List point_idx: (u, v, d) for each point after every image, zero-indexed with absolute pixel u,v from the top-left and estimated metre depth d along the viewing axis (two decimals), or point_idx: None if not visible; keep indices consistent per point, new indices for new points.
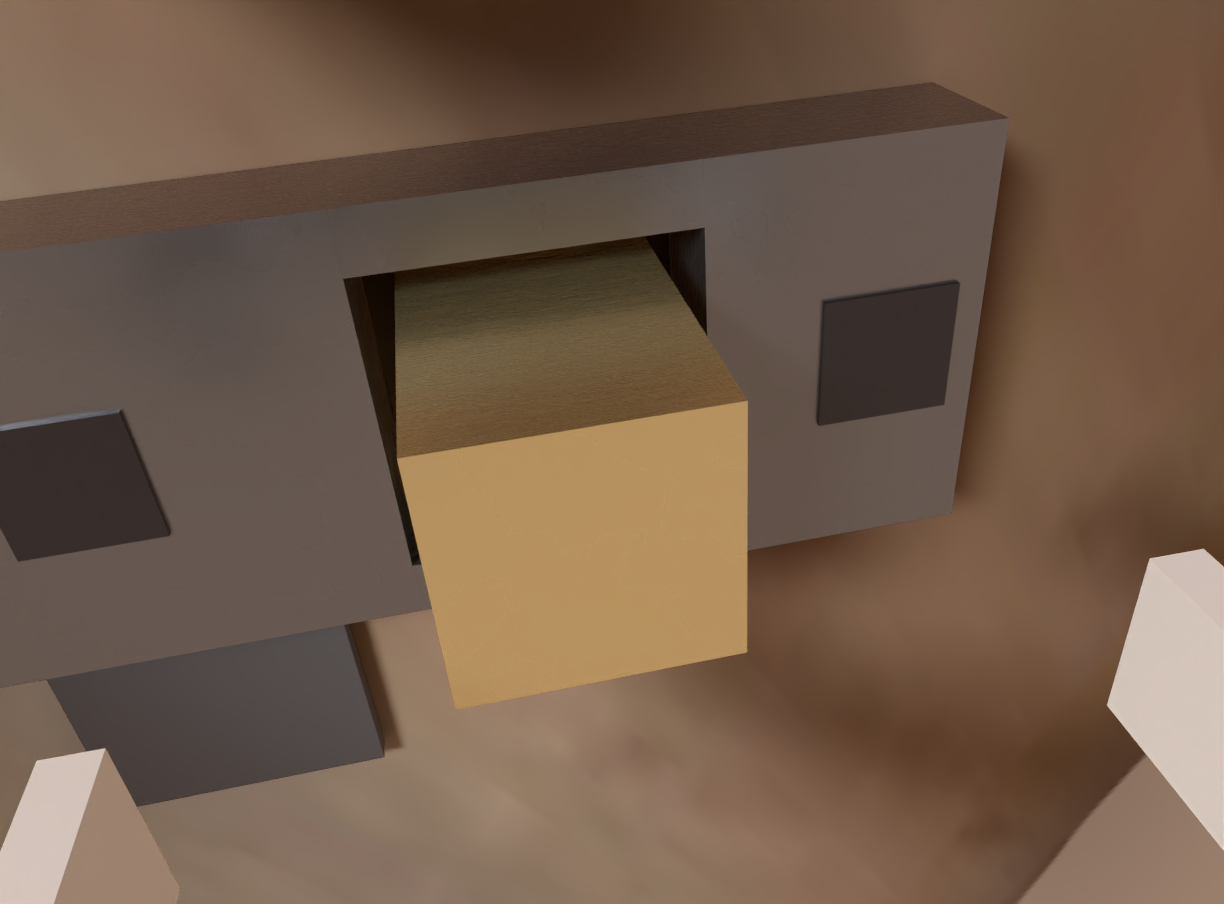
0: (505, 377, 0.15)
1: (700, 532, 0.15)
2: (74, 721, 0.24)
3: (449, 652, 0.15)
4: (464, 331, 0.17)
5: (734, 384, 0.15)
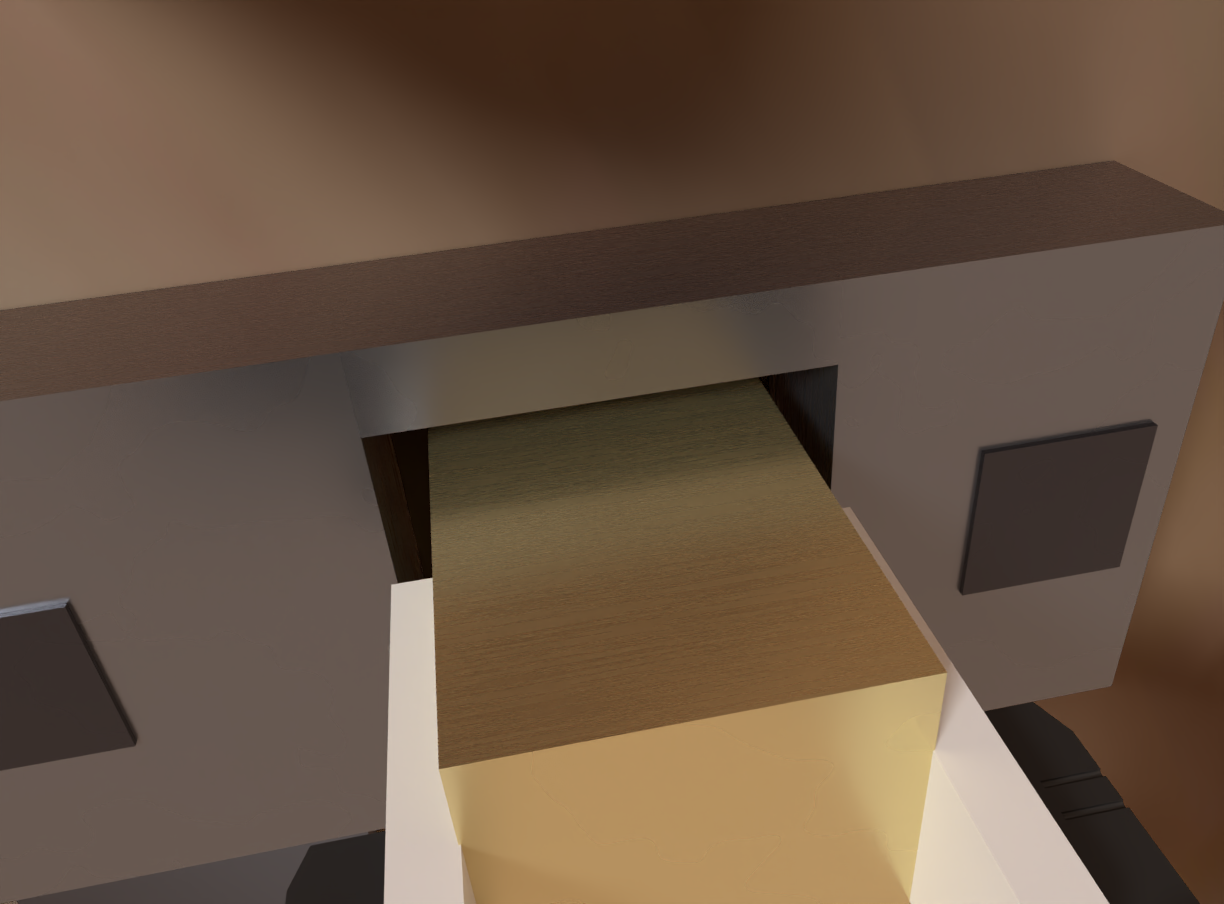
0: (587, 606, 0.11)
1: (859, 828, 0.11)
2: None
3: None
4: (523, 517, 0.12)
5: (918, 632, 0.10)
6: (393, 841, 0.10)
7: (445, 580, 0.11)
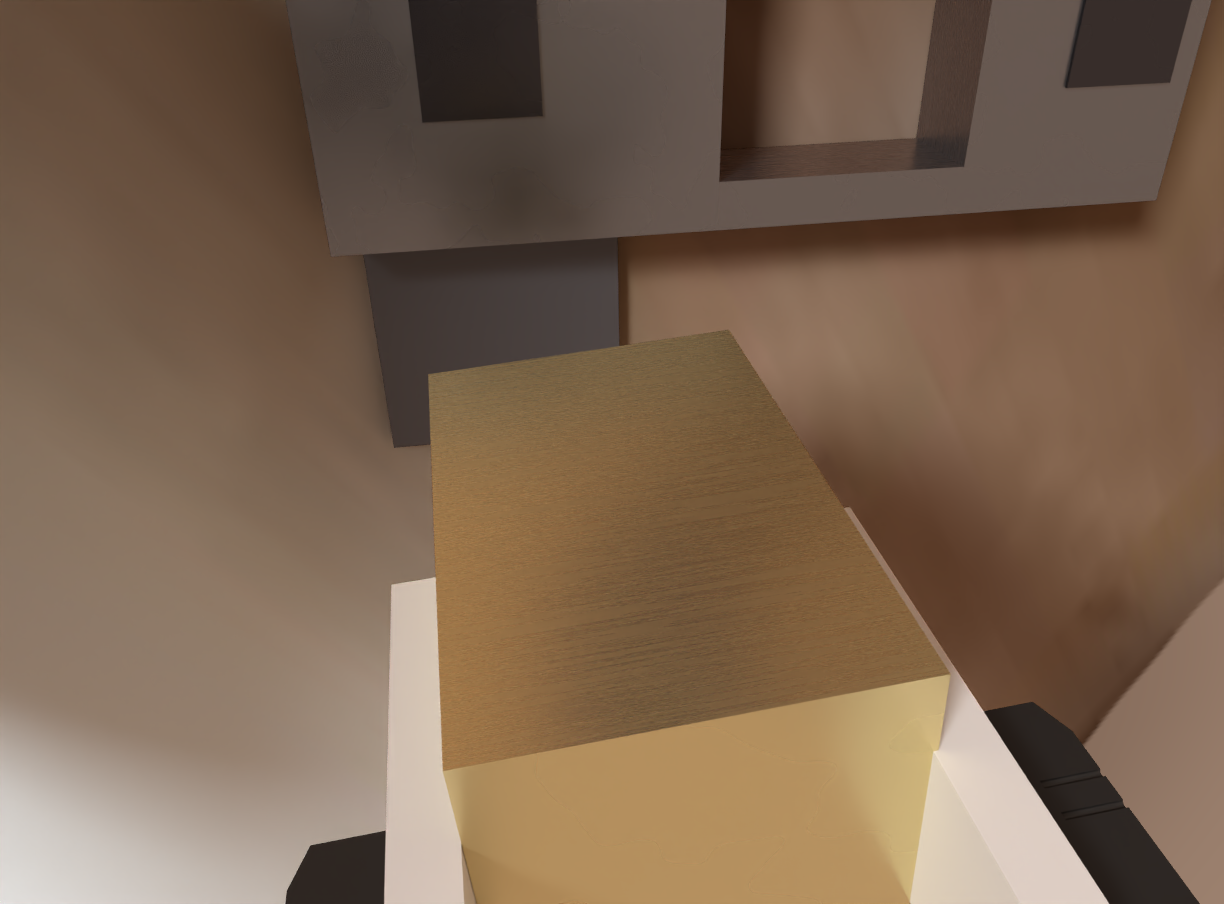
0: (590, 608, 0.11)
1: (862, 830, 0.11)
2: (380, 345, 0.28)
3: None
4: (526, 518, 0.12)
5: (921, 635, 0.10)
6: (393, 841, 0.10)
7: (448, 582, 0.11)
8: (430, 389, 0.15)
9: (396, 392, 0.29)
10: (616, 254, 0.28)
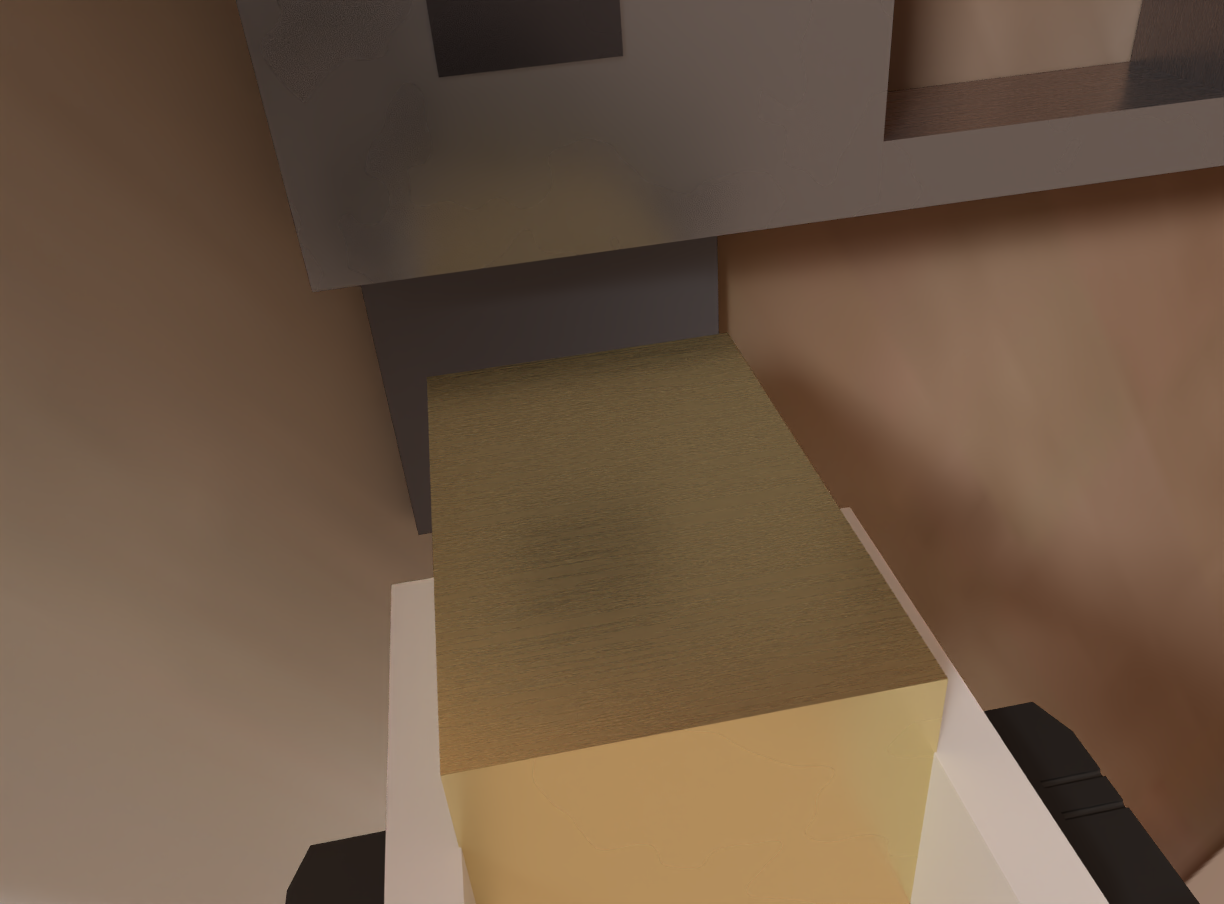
0: (589, 612, 0.11)
1: (860, 834, 0.11)
2: (392, 402, 0.20)
3: None
4: (524, 522, 0.12)
5: (918, 638, 0.10)
6: (393, 841, 0.10)
7: (447, 585, 0.11)
8: (429, 392, 0.15)
9: (417, 463, 0.21)
10: (715, 254, 0.20)
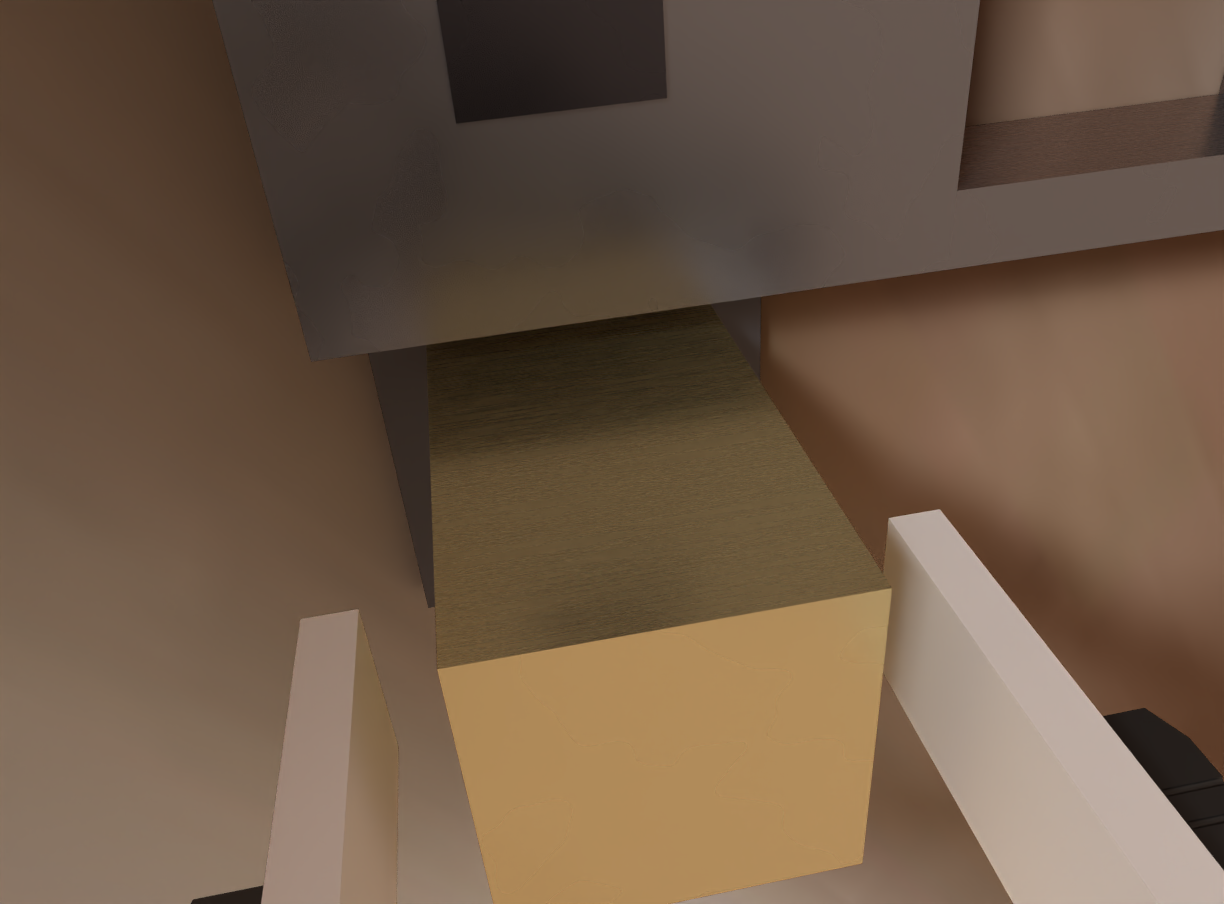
0: (571, 537, 0.12)
1: (817, 737, 0.12)
2: (400, 468, 0.18)
3: (496, 880, 0.12)
4: (515, 462, 0.13)
5: (869, 556, 0.11)
6: (270, 899, 0.09)
7: (443, 516, 0.12)
8: (428, 353, 0.16)
9: (428, 533, 0.19)
10: (758, 307, 0.18)
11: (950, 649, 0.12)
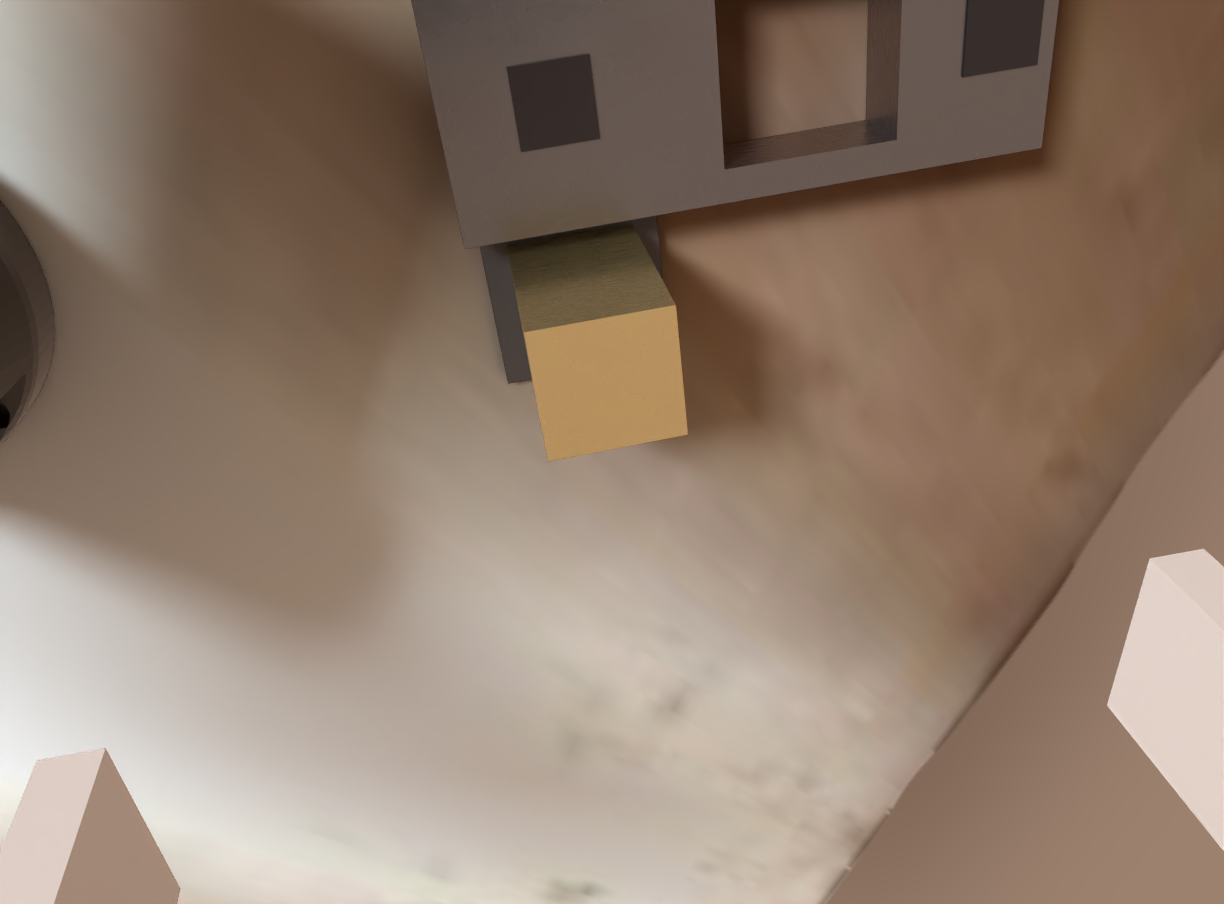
0: (568, 300, 0.33)
1: (659, 369, 0.33)
2: (495, 309, 0.39)
3: (545, 429, 0.33)
4: (547, 282, 0.34)
5: (671, 299, 0.32)
6: None
7: (521, 298, 0.34)
8: (508, 250, 0.38)
9: (508, 342, 0.40)
10: (656, 227, 0.39)
11: None
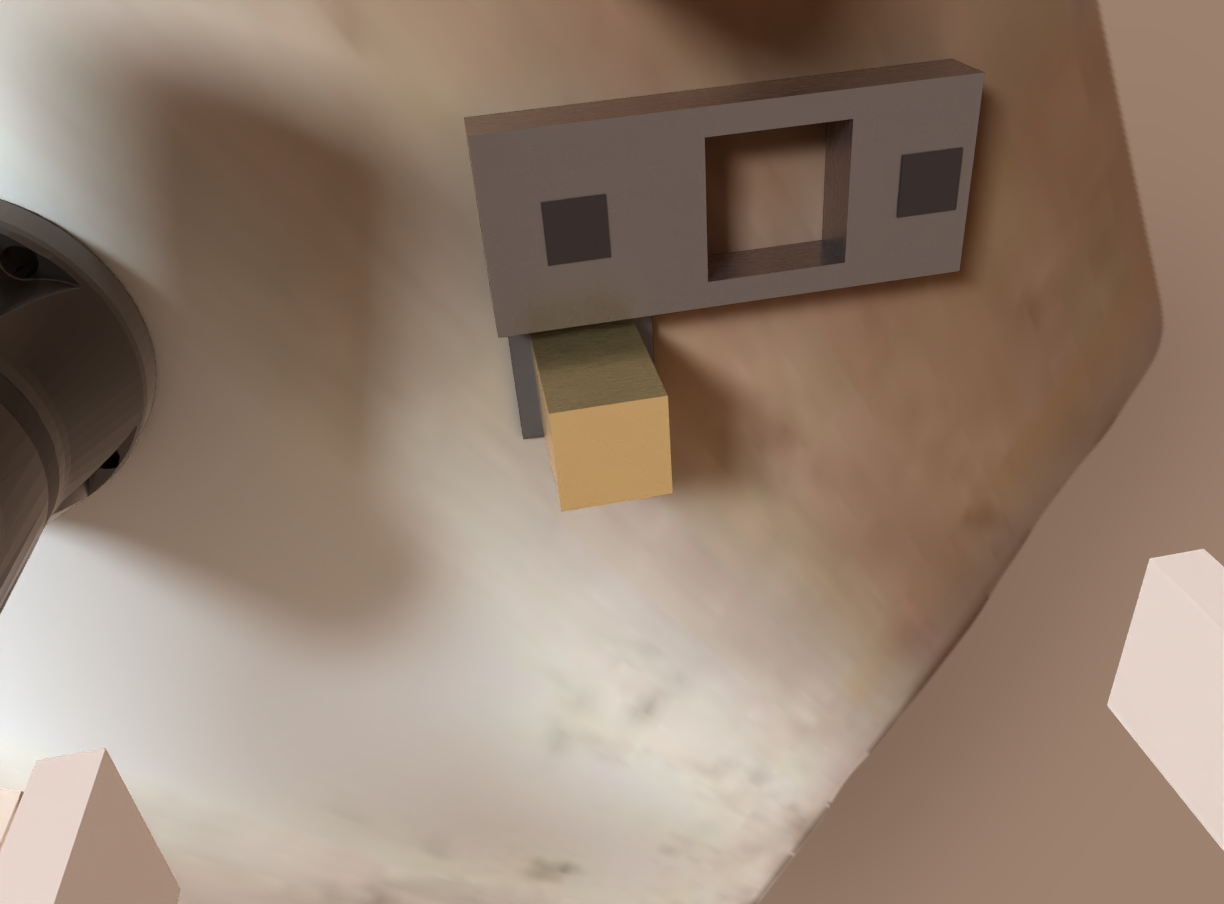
0: (582, 386, 0.42)
1: (652, 443, 0.42)
2: (516, 380, 0.48)
3: (560, 487, 0.42)
4: (564, 368, 0.43)
5: (664, 389, 0.41)
6: None
7: (544, 382, 0.42)
8: (530, 335, 0.46)
9: (525, 406, 0.49)
10: (650, 319, 0.48)
11: None
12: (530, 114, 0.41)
